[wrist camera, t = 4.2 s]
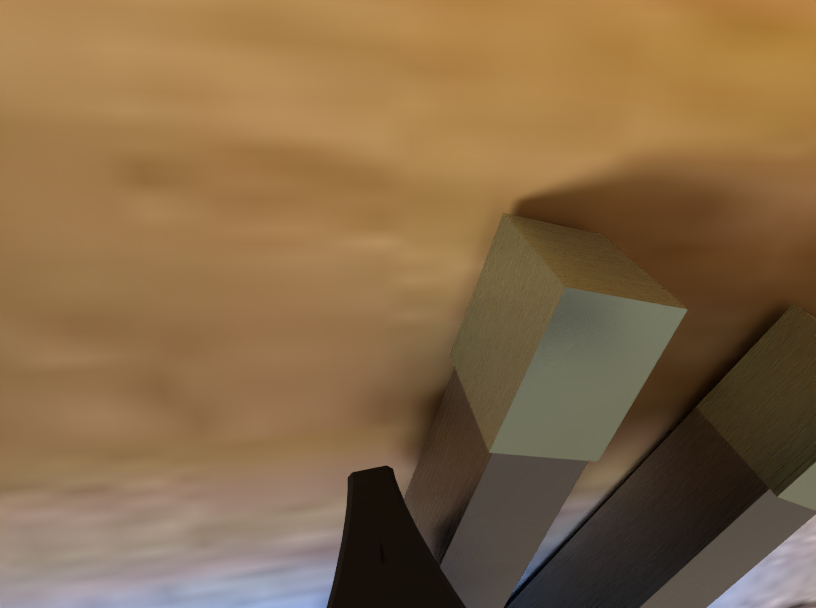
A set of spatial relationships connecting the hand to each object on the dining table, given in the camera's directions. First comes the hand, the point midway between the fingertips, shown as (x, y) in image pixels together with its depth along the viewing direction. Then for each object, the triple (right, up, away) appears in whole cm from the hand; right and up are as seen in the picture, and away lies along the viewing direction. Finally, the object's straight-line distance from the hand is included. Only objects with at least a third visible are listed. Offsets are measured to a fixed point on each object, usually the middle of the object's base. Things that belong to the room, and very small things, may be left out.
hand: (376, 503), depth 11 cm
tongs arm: (+1, -2, +2) cm, 3 cm away
